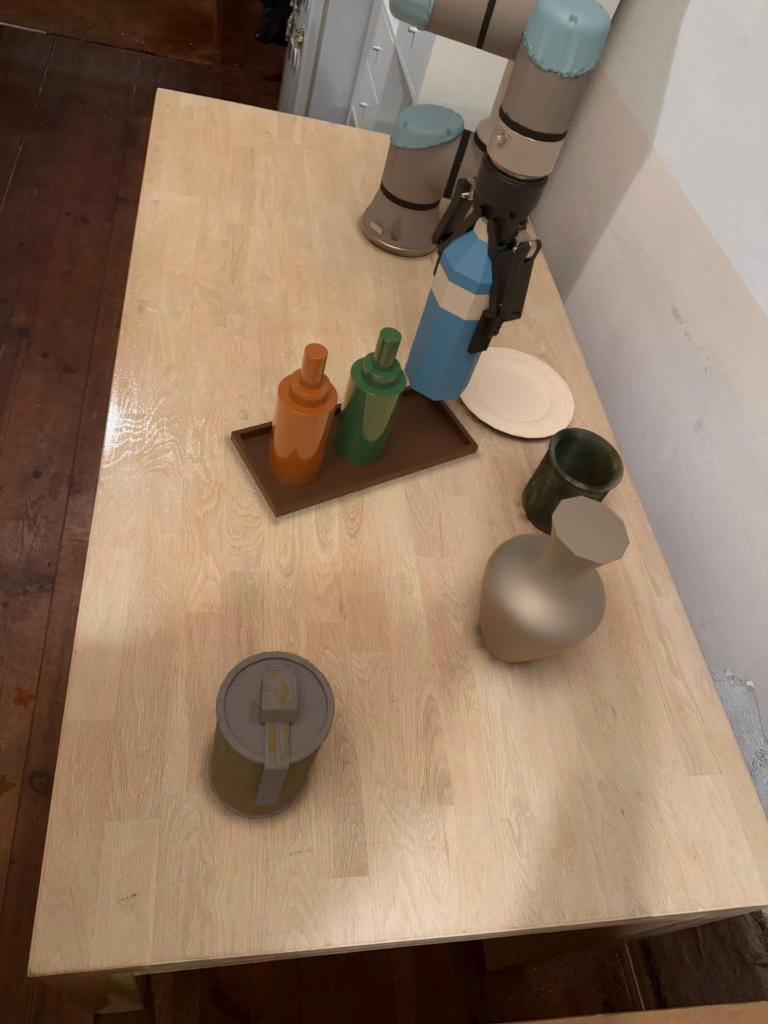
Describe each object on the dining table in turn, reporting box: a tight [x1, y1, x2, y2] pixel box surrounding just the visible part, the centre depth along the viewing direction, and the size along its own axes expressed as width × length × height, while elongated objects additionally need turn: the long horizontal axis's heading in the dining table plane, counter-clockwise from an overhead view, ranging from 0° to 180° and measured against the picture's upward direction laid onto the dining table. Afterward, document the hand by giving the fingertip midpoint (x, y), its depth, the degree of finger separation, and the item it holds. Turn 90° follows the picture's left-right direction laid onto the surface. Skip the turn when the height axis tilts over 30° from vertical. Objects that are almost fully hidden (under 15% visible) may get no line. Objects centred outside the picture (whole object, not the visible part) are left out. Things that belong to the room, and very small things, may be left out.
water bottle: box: [403, 217, 507, 401], centre depth 95 cm, size 9×9×25 cm
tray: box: [230, 384, 479, 518], centre depth 108 cm, size 34×15×2 cm, turn 121°
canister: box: [208, 650, 336, 820], centre depth 71 cm, size 11×10×20 cm
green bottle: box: [333, 326, 408, 466], centre depth 100 cm, size 8×8×21 cm
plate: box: [459, 346, 576, 439], centre depth 123 cm, size 21×21×2 cm
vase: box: [479, 496, 631, 664], centre depth 85 cm, size 14×14×25 cm
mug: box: [521, 427, 625, 535], centre depth 105 cm, size 11×15×12 cm
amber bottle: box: [267, 342, 339, 486], centre depth 96 cm, size 8×8×21 cm
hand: (456, 325), depth 98 cm, fingers closed on water bottle, 9 cm apart
